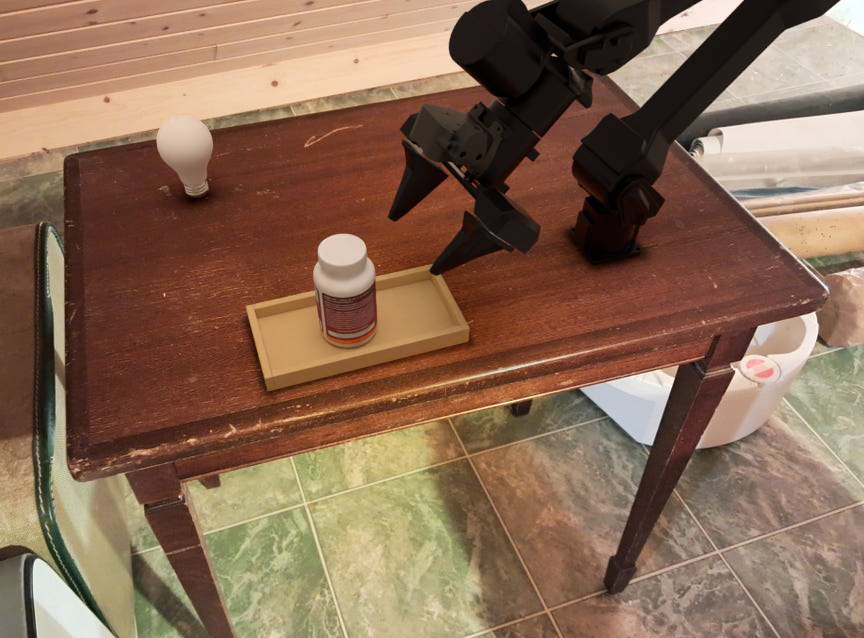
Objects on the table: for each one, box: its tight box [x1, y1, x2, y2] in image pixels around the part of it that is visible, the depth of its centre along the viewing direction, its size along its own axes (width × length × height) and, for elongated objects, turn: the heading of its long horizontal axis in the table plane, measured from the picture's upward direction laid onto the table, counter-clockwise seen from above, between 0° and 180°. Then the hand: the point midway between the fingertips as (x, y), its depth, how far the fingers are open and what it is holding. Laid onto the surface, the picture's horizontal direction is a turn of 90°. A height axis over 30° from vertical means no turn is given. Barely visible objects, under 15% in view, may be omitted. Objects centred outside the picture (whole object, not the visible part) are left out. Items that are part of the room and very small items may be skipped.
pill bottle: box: [312, 233, 378, 348], centre depth 73 cm, size 6×6×11 cm
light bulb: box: [156, 114, 214, 199], centre depth 89 cm, size 7×7×11 cm
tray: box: [245, 263, 471, 392], centre depth 77 cm, size 22×11×2 cm, turn 107°
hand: (411, 245), depth 72 cm, fingers open, 9 cm apart
